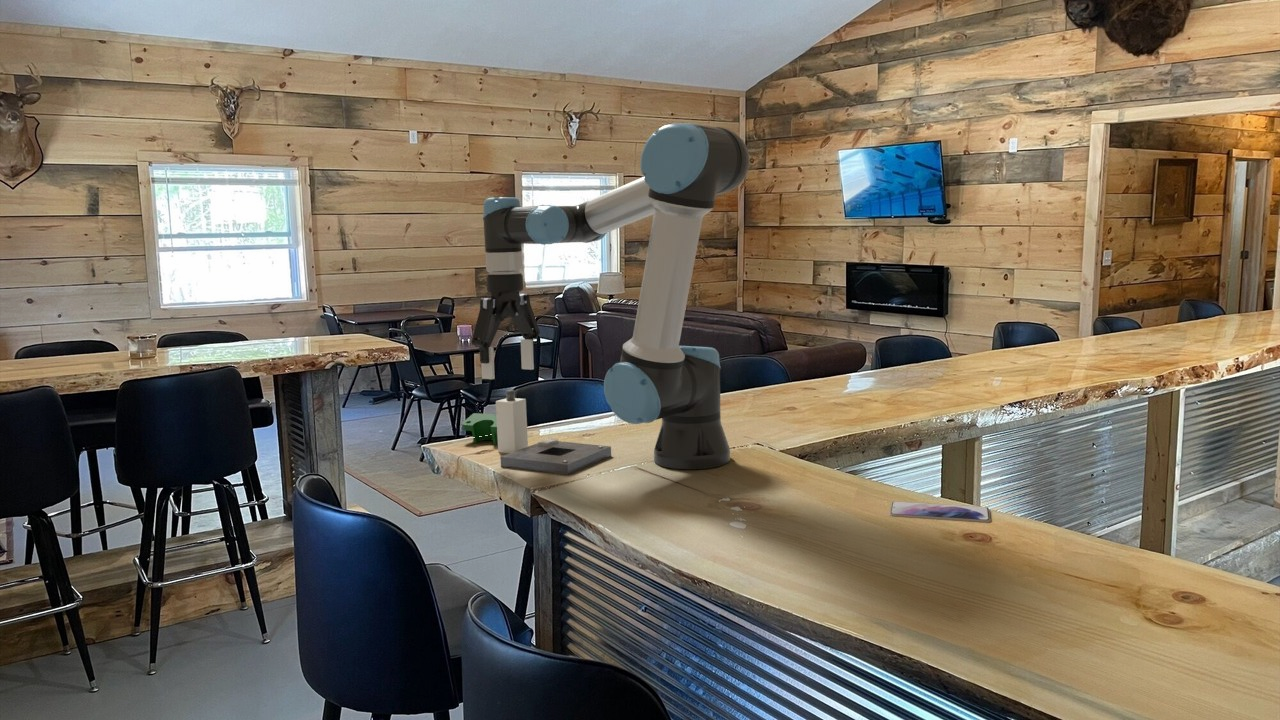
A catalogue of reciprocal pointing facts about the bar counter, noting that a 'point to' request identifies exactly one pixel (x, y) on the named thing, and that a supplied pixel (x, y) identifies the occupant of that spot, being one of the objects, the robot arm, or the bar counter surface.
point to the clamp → (482, 427)
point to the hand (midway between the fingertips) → (508, 374)
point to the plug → (511, 423)
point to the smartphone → (940, 511)
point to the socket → (556, 456)
